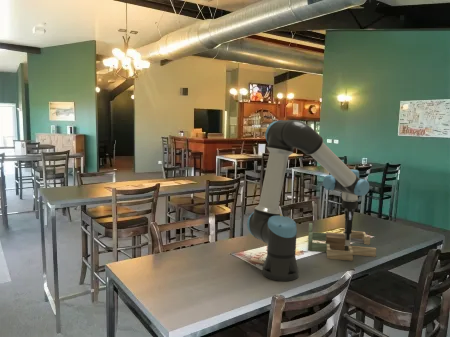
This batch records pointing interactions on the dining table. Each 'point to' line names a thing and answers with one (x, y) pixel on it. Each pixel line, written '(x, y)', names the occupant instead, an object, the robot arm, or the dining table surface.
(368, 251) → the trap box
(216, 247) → the dining table surface
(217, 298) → the dining table surface
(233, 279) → the dining table surface
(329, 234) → the block
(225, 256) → the dining table surface
